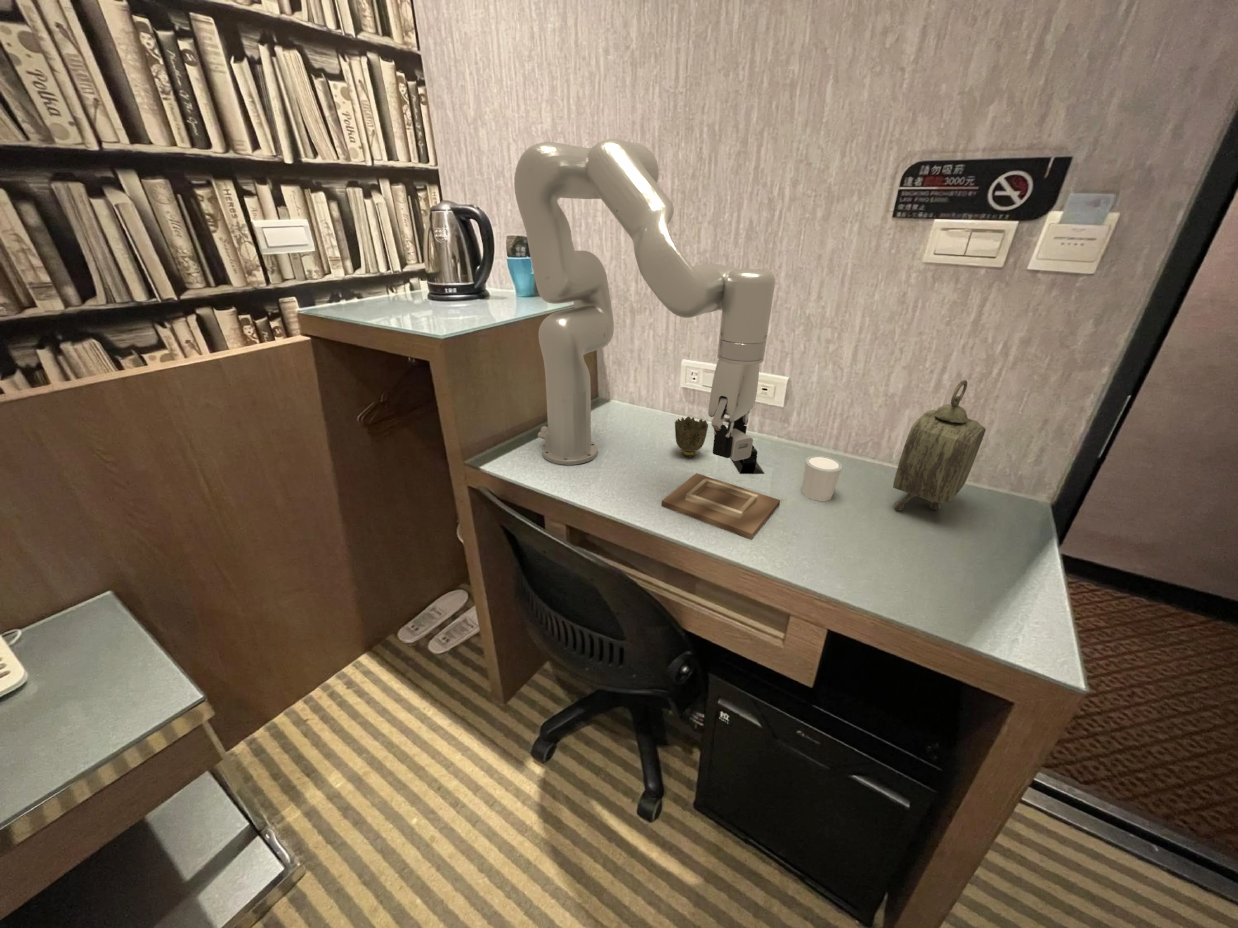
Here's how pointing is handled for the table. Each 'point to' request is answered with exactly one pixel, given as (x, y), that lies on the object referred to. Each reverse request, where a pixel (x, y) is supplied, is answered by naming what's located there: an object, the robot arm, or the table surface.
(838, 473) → the beige short cylinder
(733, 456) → the usb wall charger
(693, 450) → the cup
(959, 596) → the table surface
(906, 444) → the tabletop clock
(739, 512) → the jig board
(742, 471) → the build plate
